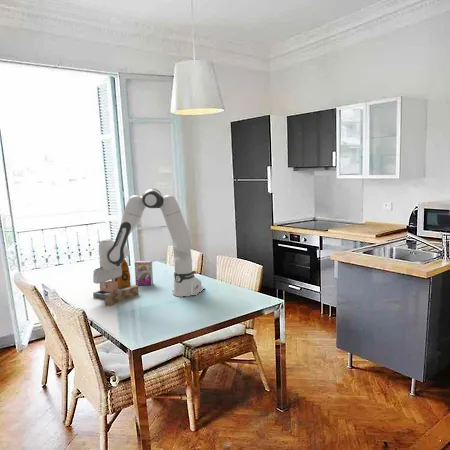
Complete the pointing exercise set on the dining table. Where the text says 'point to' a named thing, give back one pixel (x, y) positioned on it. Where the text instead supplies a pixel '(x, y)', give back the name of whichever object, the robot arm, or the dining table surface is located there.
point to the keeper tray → (100, 294)
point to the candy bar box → (143, 273)
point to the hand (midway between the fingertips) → (108, 286)
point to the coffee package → (124, 276)
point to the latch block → (109, 286)
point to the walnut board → (121, 295)
